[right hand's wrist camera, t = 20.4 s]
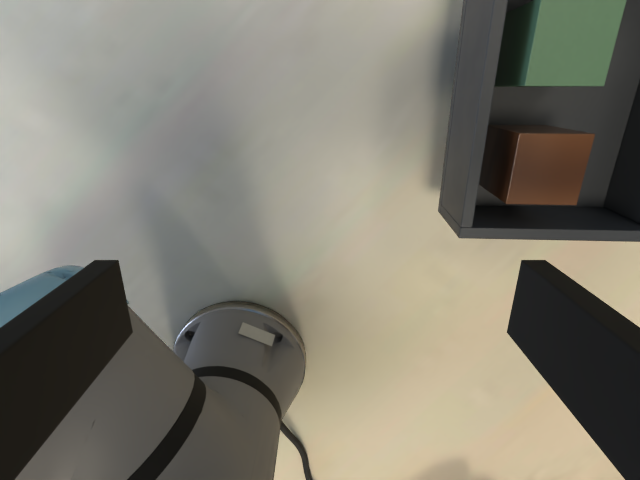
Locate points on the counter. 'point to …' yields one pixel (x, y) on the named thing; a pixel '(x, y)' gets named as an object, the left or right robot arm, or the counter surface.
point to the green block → (559, 43)
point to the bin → (543, 109)
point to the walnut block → (535, 163)
